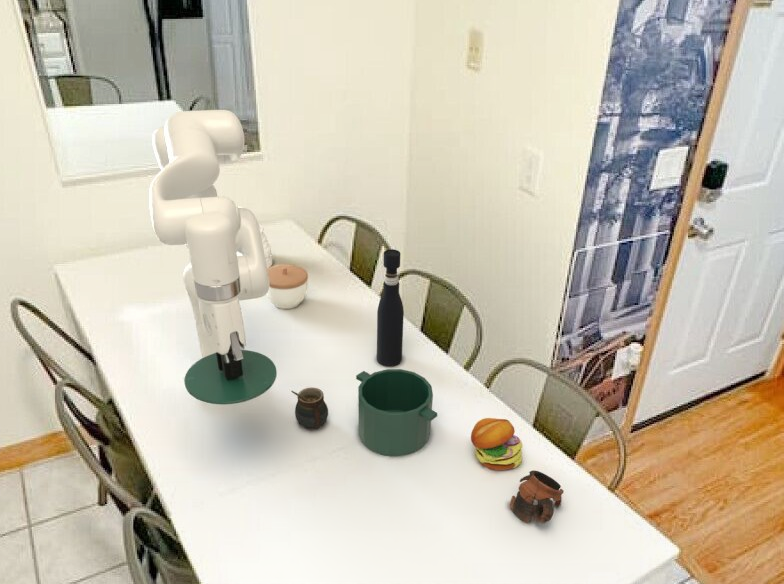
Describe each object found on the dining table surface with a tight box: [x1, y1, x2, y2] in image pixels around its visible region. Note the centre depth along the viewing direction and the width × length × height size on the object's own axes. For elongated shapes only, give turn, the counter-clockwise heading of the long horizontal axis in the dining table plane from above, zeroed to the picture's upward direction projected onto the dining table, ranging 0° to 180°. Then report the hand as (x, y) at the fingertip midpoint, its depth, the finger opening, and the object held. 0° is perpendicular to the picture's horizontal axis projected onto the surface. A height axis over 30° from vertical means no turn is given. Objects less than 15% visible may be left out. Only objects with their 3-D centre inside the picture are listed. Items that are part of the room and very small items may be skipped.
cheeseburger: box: [470, 417, 523, 471], centre depth 135 cm, size 10×11×10 cm
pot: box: [355, 368, 438, 457], centre depth 138 cm, size 16×21×12 cm
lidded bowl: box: [265, 264, 309, 310], centre depth 181 cm, size 13×13×11 cm
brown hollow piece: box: [509, 469, 564, 524], centre depth 123 cm, size 12×10×8 cm
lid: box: [183, 349, 278, 406], centre depth 119 cm, size 17×17×6 cm
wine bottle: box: [376, 248, 405, 368], centre depth 155 cm, size 6×6×30 cm
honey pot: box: [237, 206, 273, 269], centre depth 198 cm, size 13×13×18 cm
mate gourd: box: [290, 387, 329, 430], centre depth 139 cm, size 7×8×10 cm
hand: (230, 371), depth 120 cm, fingers closed on lid, 2 cm apart
